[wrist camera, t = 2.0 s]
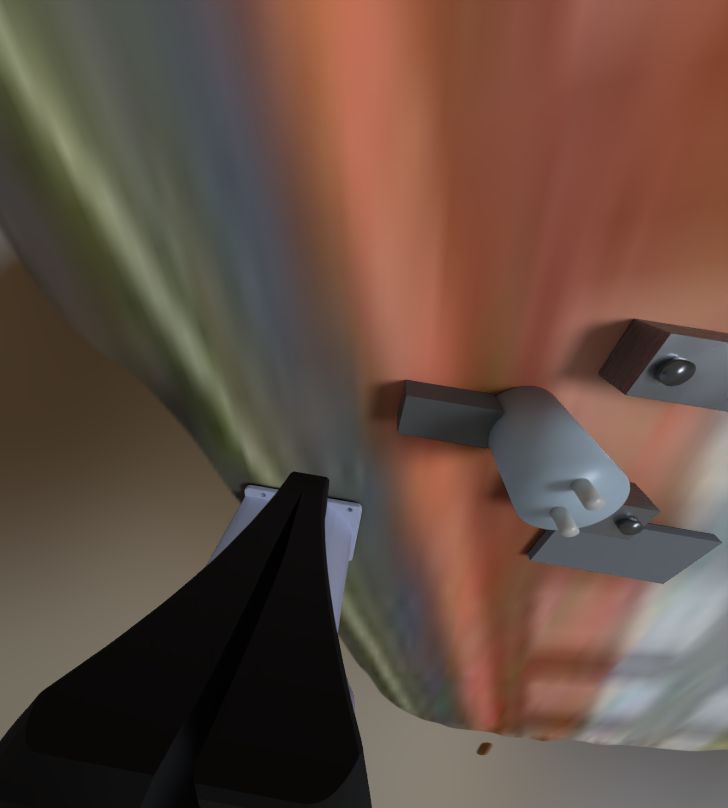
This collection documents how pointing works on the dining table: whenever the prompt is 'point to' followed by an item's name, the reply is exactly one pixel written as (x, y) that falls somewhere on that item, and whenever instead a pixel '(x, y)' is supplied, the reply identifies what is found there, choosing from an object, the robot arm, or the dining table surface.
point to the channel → (663, 392)
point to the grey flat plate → (626, 552)
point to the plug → (524, 450)
